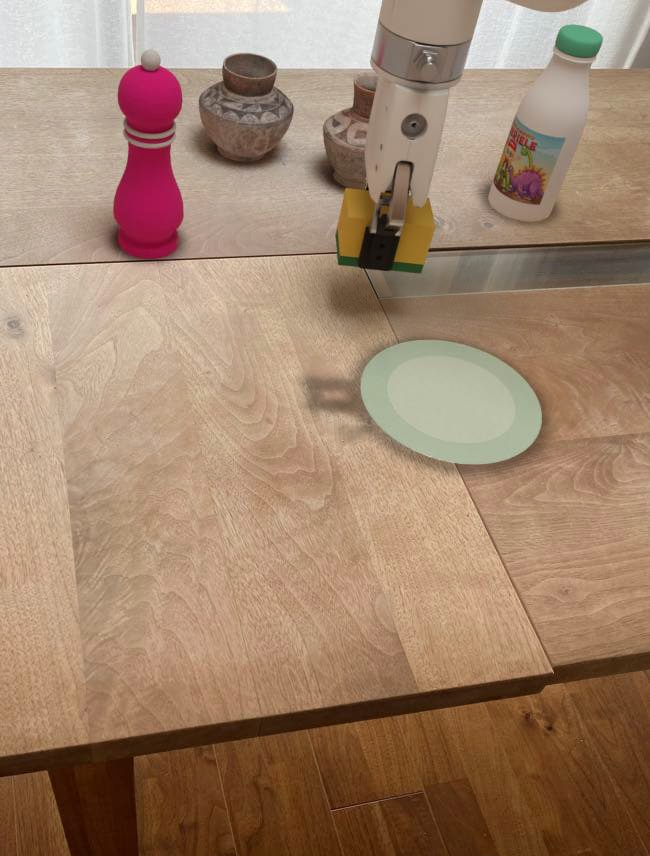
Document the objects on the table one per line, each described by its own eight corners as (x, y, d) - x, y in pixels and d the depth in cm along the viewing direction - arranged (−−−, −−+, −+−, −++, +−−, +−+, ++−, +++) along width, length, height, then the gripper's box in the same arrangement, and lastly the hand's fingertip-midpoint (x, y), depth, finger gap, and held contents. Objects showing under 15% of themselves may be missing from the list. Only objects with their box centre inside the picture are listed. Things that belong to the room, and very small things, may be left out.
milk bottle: (519, 187, 111) (582, 12, 95) (562, 219, 107) (635, 42, 91) (472, 199, 108) (529, 21, 92) (515, 232, 104) (582, 52, 88)
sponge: (415, 244, 87) (429, 197, 83) (421, 274, 84) (435, 226, 80) (335, 235, 87) (345, 187, 83) (337, 265, 83) (348, 216, 80)
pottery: (387, 216, 103) (411, 113, 94) (183, 166, 106) (187, 62, 97) (403, 170, 110) (427, 71, 101) (211, 125, 113) (218, 24, 104)
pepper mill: (196, 251, 95) (208, 55, 80) (145, 276, 91) (147, 75, 76) (150, 221, 98) (154, 26, 82) (99, 244, 94) (93, 44, 79)
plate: (521, 357, 89) (525, 347, 88) (553, 481, 78) (558, 472, 77) (353, 341, 88) (355, 331, 87) (362, 464, 77) (365, 455, 76)
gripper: (482, 105, 66) (419, 308, 80) (451, 13, 77) (401, 206, 91) (382, 93, 65) (337, 300, 79) (366, 3, 76) (329, 199, 90)
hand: (372, 248), depth 85 cm, fingers closed on sponge, 5 cm apart
